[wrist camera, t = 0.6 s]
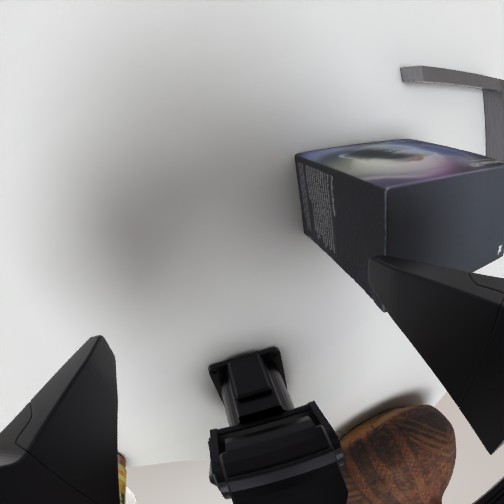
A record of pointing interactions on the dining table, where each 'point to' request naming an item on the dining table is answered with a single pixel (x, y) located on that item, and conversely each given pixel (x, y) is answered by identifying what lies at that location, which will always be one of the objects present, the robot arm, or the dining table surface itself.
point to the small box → (402, 205)
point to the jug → (399, 457)
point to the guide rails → (494, 90)
